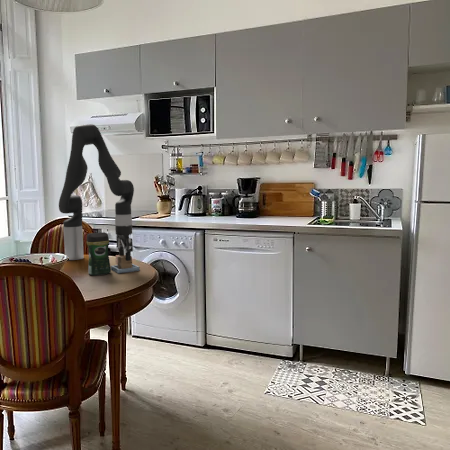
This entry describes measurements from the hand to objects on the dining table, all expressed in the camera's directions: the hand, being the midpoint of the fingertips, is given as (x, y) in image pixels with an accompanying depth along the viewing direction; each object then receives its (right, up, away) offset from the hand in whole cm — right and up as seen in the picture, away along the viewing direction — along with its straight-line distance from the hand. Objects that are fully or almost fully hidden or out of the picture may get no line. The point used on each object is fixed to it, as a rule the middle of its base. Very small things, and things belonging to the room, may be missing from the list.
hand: (124, 258), depth 198 cm
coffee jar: (-10, -6, -6) cm, 13 cm away
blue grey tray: (0, -5, 0) cm, 5 cm away
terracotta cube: (-6, -4, +16) cm, 17 cm away
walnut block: (0, -5, 0) cm, 5 cm away
